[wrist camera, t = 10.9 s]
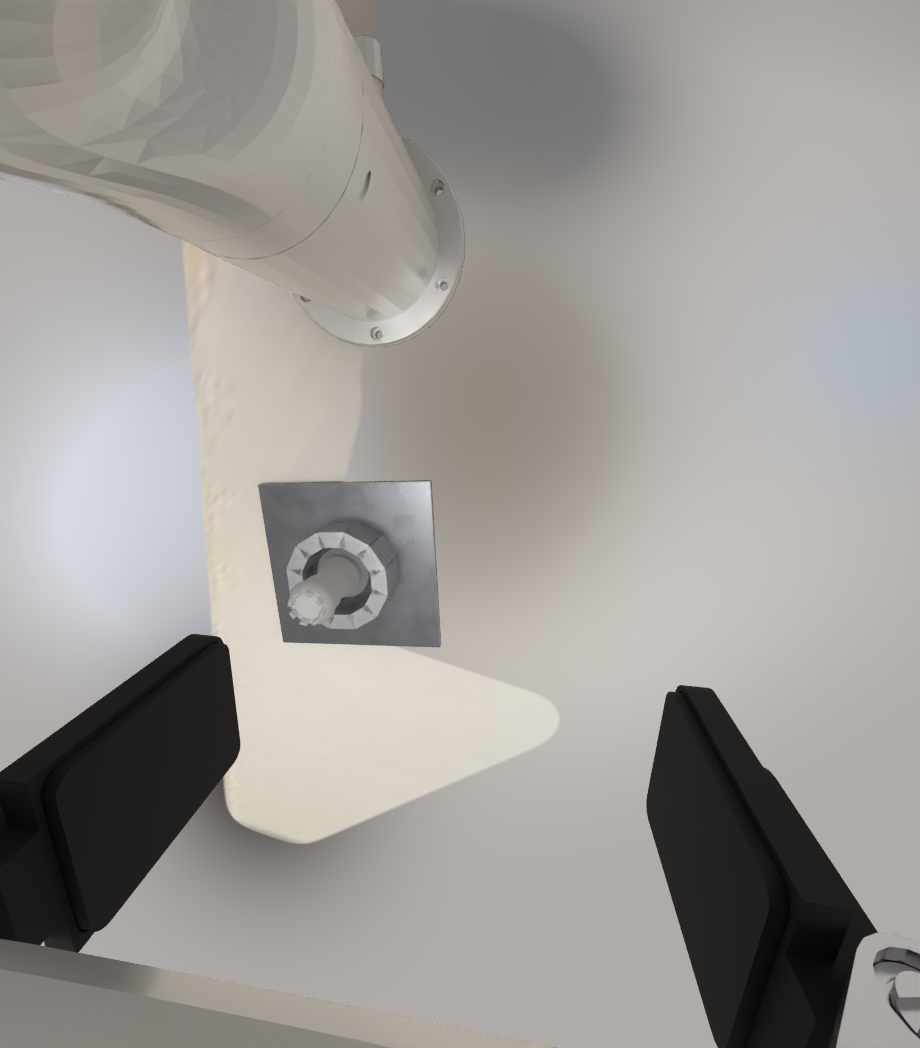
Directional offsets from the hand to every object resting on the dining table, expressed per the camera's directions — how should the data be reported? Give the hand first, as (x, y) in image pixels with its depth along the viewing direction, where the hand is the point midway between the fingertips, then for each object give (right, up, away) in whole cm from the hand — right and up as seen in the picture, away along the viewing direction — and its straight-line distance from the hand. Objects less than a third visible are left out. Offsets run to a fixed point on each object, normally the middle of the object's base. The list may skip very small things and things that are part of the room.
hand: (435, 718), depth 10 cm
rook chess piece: (-8, +1, +28) cm, 29 cm away
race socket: (-8, +1, +28) cm, 29 cm away
